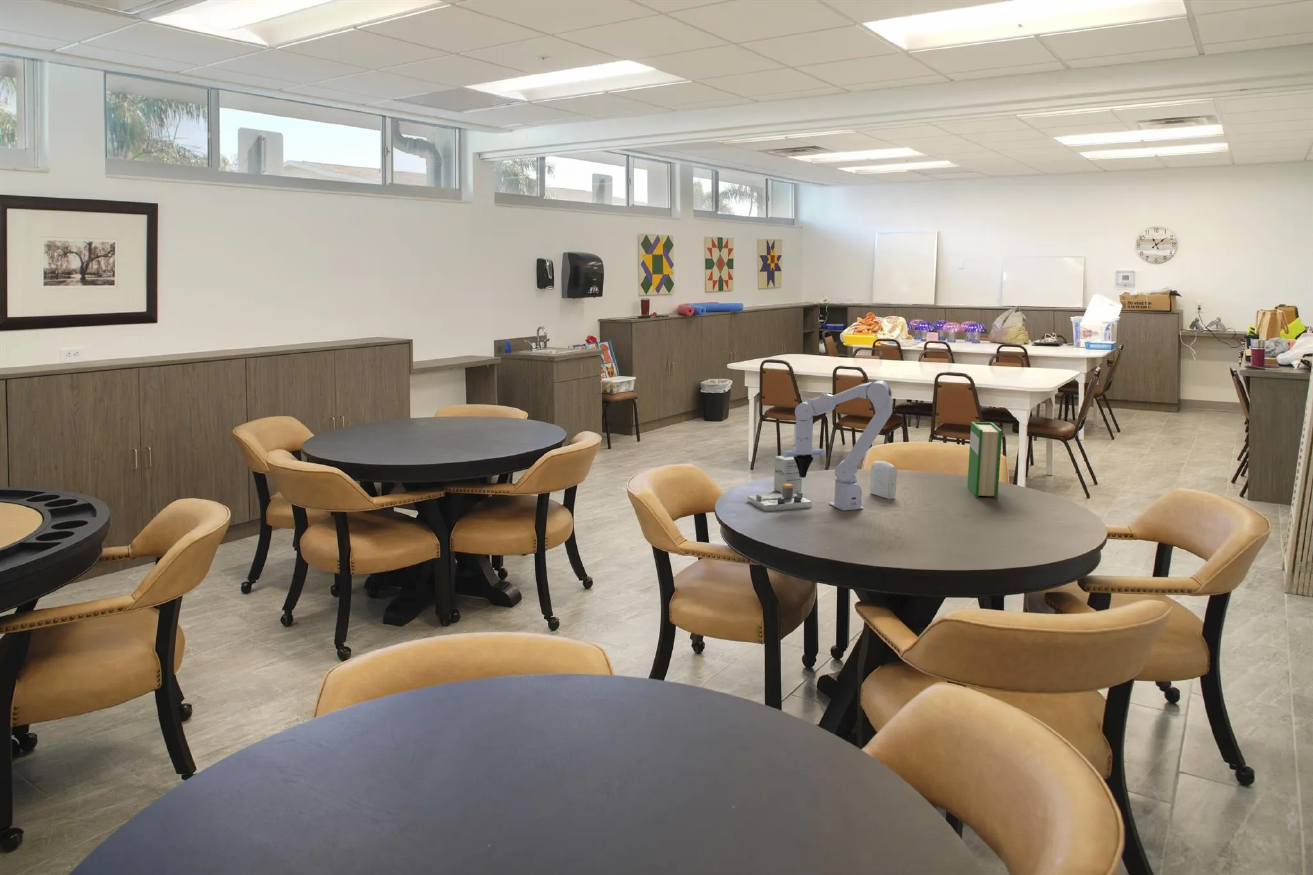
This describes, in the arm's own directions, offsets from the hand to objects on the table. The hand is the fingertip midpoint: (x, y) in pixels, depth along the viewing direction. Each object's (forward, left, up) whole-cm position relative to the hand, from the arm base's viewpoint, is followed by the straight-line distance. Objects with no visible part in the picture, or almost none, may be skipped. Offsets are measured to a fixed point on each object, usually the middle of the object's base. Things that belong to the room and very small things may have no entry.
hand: (802, 477), depth 317 cm
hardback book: (-6, -69, -9) cm, 69 cm away
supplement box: (+16, -3, -9) cm, 19 cm away
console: (0, +8, -9) cm, 12 cm away
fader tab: (0, +5, -7) cm, 9 cm away
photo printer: (0, -32, -9) cm, 33 cm away
